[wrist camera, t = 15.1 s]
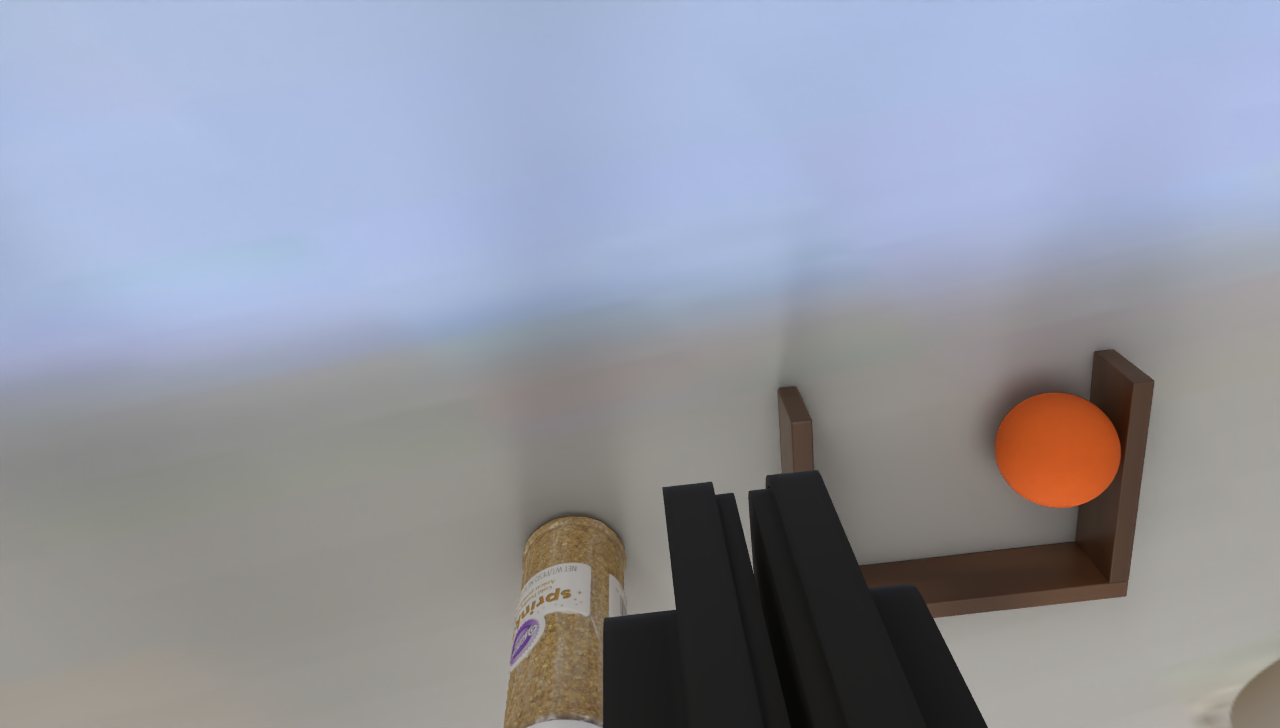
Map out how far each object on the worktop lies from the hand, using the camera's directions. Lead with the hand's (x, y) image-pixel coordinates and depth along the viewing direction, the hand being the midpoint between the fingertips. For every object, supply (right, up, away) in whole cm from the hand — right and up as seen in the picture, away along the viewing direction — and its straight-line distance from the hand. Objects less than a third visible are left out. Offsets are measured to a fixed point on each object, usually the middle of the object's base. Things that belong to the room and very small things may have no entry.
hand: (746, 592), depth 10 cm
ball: (+15, -1, +26) cm, 30 cm away
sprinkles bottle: (-4, -6, +30) cm, 31 cm away
